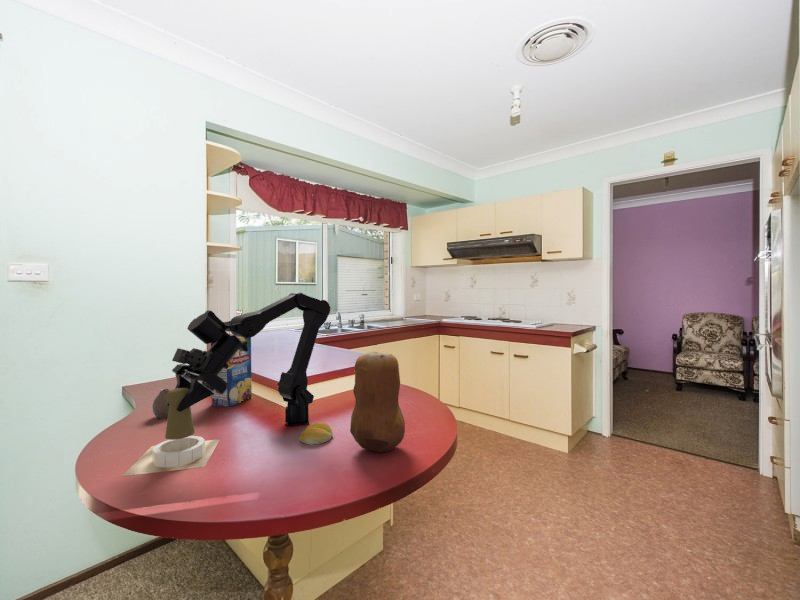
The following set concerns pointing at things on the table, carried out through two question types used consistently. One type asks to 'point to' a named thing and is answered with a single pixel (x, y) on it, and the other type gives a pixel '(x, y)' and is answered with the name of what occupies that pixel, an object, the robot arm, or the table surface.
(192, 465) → the oak board
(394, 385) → the butternut squash
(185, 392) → the cork
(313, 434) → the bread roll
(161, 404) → the brown fig
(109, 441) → the table surface
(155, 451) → the cream collar
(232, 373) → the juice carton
